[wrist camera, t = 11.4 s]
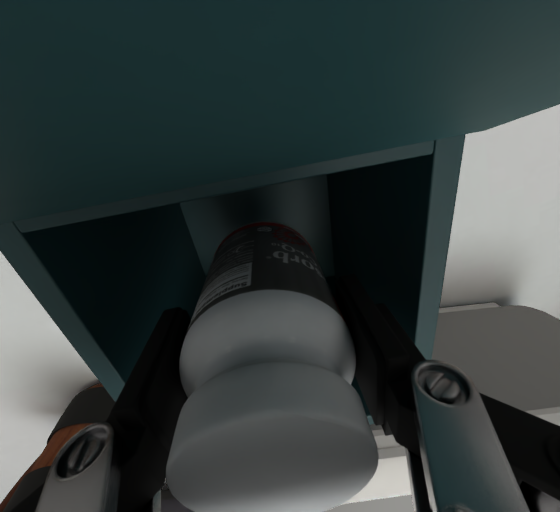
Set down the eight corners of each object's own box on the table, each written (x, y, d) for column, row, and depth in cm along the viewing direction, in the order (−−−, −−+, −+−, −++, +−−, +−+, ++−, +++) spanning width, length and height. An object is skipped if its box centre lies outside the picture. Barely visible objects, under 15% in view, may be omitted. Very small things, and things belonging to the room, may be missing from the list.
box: (341, 276, 23) (423, 415, 12) (209, 301, 23) (162, 465, 12) (331, 126, 18) (469, 113, 6) (156, 160, 18) (-32, 210, 6)
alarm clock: (269, 384, 29) (275, 529, 18) (261, 322, 25) (264, 463, 14) (493, 358, 30) (620, 479, 20) (521, 295, 26) (703, 406, 15)
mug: (31, 402, 27) (-111, 571, 17) (128, 369, 26) (42, 526, 16) (85, 441, 31) (-2, 599, 21) (172, 414, 30) (126, 564, 20)
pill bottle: (333, 266, 15) (448, 470, 6) (262, 320, 16) (270, 551, 7) (266, 194, 13) (291, 345, 4) (191, 264, 14) (78, 497, 5)
